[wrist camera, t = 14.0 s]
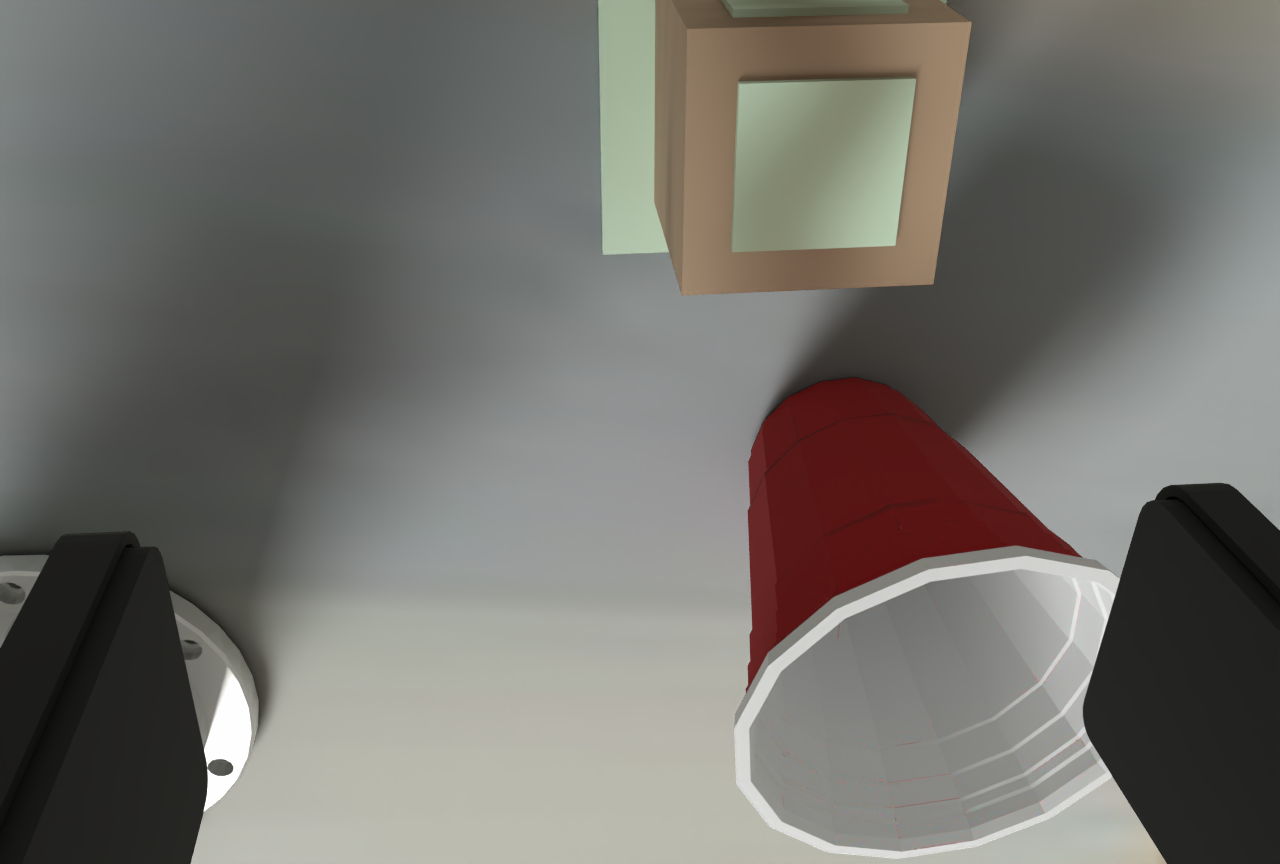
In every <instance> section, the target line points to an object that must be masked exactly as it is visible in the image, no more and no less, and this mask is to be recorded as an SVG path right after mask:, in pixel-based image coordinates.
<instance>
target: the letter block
mask: <svg viewBox="0 0 1280 864" xmlns="http://www.w3.org/2000/svg"><path fill="white" fill-rule="evenodd" d="M971 25H972V22H971V21H970V20H968V19H967V18H965V17H964V16H962V15H961V14H959V13H958V12H956V11H955V10H953V9H952V8H950V7H949V6H948V5H946V4H945V3H943V2H942V1H940V0H655V136H654V203H655V207H656V210H657V213H658V217H659V220H660V223H661V227H662V230H663V233H664V237H665V240H666V244H667V247H668V250H669V254H670V257H671V260H672V264H673V267H674V270H675V274H676V277H677V281H678V284H679V287H680V291H681V294H682V295H701V294H724V293H747V292H770V291H793V290H816V289H839V288H863V287H886V286H909V285H932V284H933V283H934V277H935V270H936V263H937V256H938V249H939V243H940V236H941V229H942V222H943V215H944V209H945V202H946V195H947V188H948V181H949V174H950V168H951V161H952V154H953V147H954V140H955V134H956V127H957V120H958V113H959V106H960V100H961V93H962V86H963V79H964V72H965V65H966V59H967V52H968V45H969V38H970V31H971Z"/></svg>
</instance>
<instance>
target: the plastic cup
mask: <svg viewBox="0 0 1280 864" xmlns="http://www.w3.org/2000/svg"><path fill="white" fill-rule="evenodd" d="M748 463H749V488H750V507H749V510H748V527H749V552H750V578H751V605H752V631H751V633H750V663H749V665H748V686H747V688H746V695H745V697H744V698H743V700H742V702H741V704H740V706H739V708H738V710H737V711H736V714H735V724H734V738H735V763H736V785H737V786H738V787H739V788H740V790H741V791H742V792H743V793H744V795H745V796H746V797H747V799H748V800H749V801H750V802H751V804H752V805H753V806H754V807H755V809H756V810H757V811H758V813H759V814H760V815H761V816H762V818H763V819H764V820H765V821H766V823H767V824H768V825H769V827H771V828H773V829H776V830H778V831H780V832H782V833H784V834H787V835H789V836H791V837H793V838H796V839H798V840H800V841H802V842H805V843H807V844H809V845H811V846H814V847H816V848H818V849H820V850H823V851H825V852H829V853H840V854H851V855H862V856H873V857H884V858H894V859H900V858H907V857H913V856H920V855H926V854H933V853H940V852H946V851H953V850H959V849H966V848H972V847H977V846H979V845H982V844H985V843H987V842H990V841H993V840H995V839H998V838H1000V837H1003V836H1006V835H1008V834H1011V833H1013V832H1016V831H1019V830H1021V829H1024V828H1027V827H1029V826H1032V825H1034V824H1037V823H1040V822H1042V821H1045V820H1047V819H1050V818H1052V817H1053V816H1055V815H1056V814H1058V813H1059V812H1061V811H1062V810H1064V809H1065V808H1067V807H1068V806H1070V805H1071V804H1073V803H1074V802H1076V801H1077V800H1079V799H1080V798H1082V797H1083V796H1085V795H1086V794H1088V793H1089V792H1091V791H1092V790H1094V789H1095V788H1097V787H1098V786H1100V785H1101V784H1103V783H1104V782H1106V781H1107V780H1109V779H1110V778H1112V777H1113V776H1112V775H1111V773H1110V772H1109V770H1108V768H1107V767H1106V765H1105V764H1104V762H1103V761H1102V759H1101V757H1100V756H1099V754H1098V753H1097V751H1096V749H1095V748H1094V746H1093V745H1092V743H1091V741H1090V739H1089V737H1088V735H1087V733H1086V730H1085V726H1084V721H1083V703H1084V698H1085V695H1086V692H1087V688H1088V685H1089V682H1090V678H1091V675H1092V672H1093V668H1094V665H1095V662H1096V658H1097V655H1098V651H1099V648H1100V645H1101V641H1102V638H1103V635H1104V631H1105V628H1106V625H1107V621H1108V618H1109V615H1110V611H1111V608H1112V604H1113V601H1114V598H1115V594H1116V591H1117V588H1118V584H1119V581H1120V577H1118V576H1117V575H1115V574H1114V573H1113V572H1111V571H1110V570H1109V569H1107V568H1106V567H1105V566H1103V565H1102V564H1101V563H1099V562H1098V561H1096V560H1092V559H1086V558H1083V557H1082V556H1080V555H1079V554H1078V553H1077V552H1076V551H1075V550H1074V549H1073V548H1072V547H1071V546H1070V545H1069V544H1068V543H1066V542H1065V541H1064V540H1062V539H1061V538H1060V537H1058V536H1057V535H1056V534H1054V533H1053V532H1052V531H1050V530H1049V529H1048V528H1047V527H1046V526H1045V525H1044V524H1043V523H1042V522H1041V521H1040V520H1039V519H1037V518H1036V517H1035V516H1034V515H1033V514H1032V513H1031V512H1030V511H1029V510H1028V509H1027V508H1026V507H1025V506H1024V505H1023V504H1022V503H1021V502H1020V501H1019V500H1018V499H1017V498H1016V497H1015V496H1014V495H1013V494H1012V493H1011V492H1010V491H1009V490H1008V489H1007V488H1006V487H1005V486H1004V485H1003V484H1002V483H1001V482H1000V481H999V480H998V479H997V478H996V477H994V476H993V475H992V474H991V473H990V472H989V471H988V470H987V469H986V468H985V467H984V466H983V465H982V464H981V463H980V462H979V461H978V460H977V459H976V458H975V457H974V456H973V455H972V454H971V453H970V452H969V451H968V450H967V449H966V448H965V447H963V446H962V445H961V444H960V443H958V442H957V441H956V440H954V439H953V438H952V437H950V436H949V435H948V434H947V433H945V432H944V431H943V430H942V429H941V428H940V427H939V426H938V425H937V424H936V423H935V422H934V421H933V420H932V419H931V418H930V417H929V416H928V415H927V414H926V413H925V412H924V411H923V410H921V409H920V408H919V407H918V406H916V405H915V404H914V403H912V402H911V401H910V400H909V399H907V398H906V397H905V396H903V395H902V394H901V393H900V392H898V391H897V390H893V389H891V388H890V387H889V386H888V385H884V384H880V383H876V382H872V381H868V380H864V379H860V378H847V379H839V380H830V381H822V382H819V383H816V384H814V385H812V386H810V387H808V388H806V389H804V390H802V391H800V392H798V393H796V394H794V395H792V396H790V397H788V398H787V399H786V400H785V401H784V402H783V403H782V404H781V405H780V406H779V407H778V408H777V409H776V410H775V411H774V412H773V413H772V414H771V415H770V416H769V417H768V418H767V419H766V420H765V421H764V422H763V424H762V426H761V429H760V431H759V433H758V436H757V438H756V440H755V443H754V445H753V447H752V450H751V457H750V459H749V462H748Z"/></svg>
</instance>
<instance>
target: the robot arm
mask: <svg viewBox="0 0 1280 864" xmlns="http://www.w3.org/2000/svg"><path fill="white" fill-rule="evenodd" d="M258 710H259V700H258V696H257V692H256V688H255V684H254V680H253V676H252V674H251V672H250V670H249V668H248V666H247V664H246V662H245V660H244V658H243V656H242V654H241V653H240V651H239V649H238V648H237V647H236V646H235V645H234V643H233V642H232V641H231V640H230V639H229V637H228V636H227V635H226V634H225V632H224V631H223V630H222V629H221V628H220V626H218V625H217V624H216V623H215V622H214V621H212V620H211V619H210V618H209V617H208V616H207V615H205V614H204V613H203V612H202V611H201V610H199V609H198V608H197V607H196V606H195V605H193V604H192V603H190V602H189V601H187V600H185V599H183V598H182V597H180V596H178V595H177V594H175V593H173V592H172V591H170V590H169V586H168V582H167V577H166V572H165V568H164V563H163V559H162V556H161V553H160V551H159V550H158V548H156V547H140V544H139V541H138V539H137V538H136V536H135V534H133V533H132V532H130V531H128V532H106V533H83V534H66V535H63V536H61V537H60V538H59V540H58V541H57V542H56V544H55V546H54V548H53V549H52V551H51V553H50V555H10V556H0V864H190V863H191V859H192V855H193V852H194V848H195V844H196V840H197V836H198V832H199V828H200V824H201V820H202V816H203V813H204V812H205V811H206V810H208V809H209V808H210V807H212V806H213V805H214V804H215V803H217V802H218V801H219V800H221V799H222V798H223V797H224V796H225V795H226V794H227V793H228V792H229V790H230V789H231V788H232V787H233V786H234V784H235V783H236V782H237V781H238V779H239V778H240V777H241V775H242V773H243V771H244V769H245V766H246V764H247V762H248V760H249V758H250V756H251V753H252V749H253V745H254V740H255V736H256V732H257V728H258ZM1083 721H1084V726H1085V730H1086V733H1087V735H1088V737H1089V739H1090V741H1091V743H1092V745H1093V746H1094V748H1095V749H1096V751H1097V753H1098V754H1099V756H1100V757H1101V759H1102V761H1103V762H1104V764H1105V765H1106V767H1107V768H1108V770H1109V772H1110V773H1111V775H1112V776H1113V778H1114V780H1115V781H1116V783H1117V784H1118V786H1119V788H1120V789H1121V791H1122V792H1123V794H1124V796H1125V797H1126V799H1127V800H1128V802H1129V804H1130V805H1131V807H1132V808H1133V810H1134V812H1135V813H1136V815H1137V816H1138V818H1139V820H1140V821H1141V823H1142V824H1143V826H1144V828H1145V829H1146V831H1147V832H1148V834H1149V835H1150V837H1151V839H1152V840H1153V842H1154V843H1155V845H1156V847H1157V848H1158V850H1159V851H1160V853H1161V855H1162V856H1163V858H1164V859H1165V861H1166V863H1167V864H1280V530H1279V529H1277V528H1276V527H1275V526H1274V525H1273V524H1272V523H1271V522H1270V521H1269V520H1268V519H1267V518H1266V517H1265V516H1264V515H1263V514H1262V513H1261V512H1260V511H1259V510H1258V509H1257V508H1256V507H1255V506H1254V505H1252V504H1251V503H1250V502H1249V501H1248V500H1247V499H1246V498H1245V497H1244V496H1243V495H1242V494H1241V493H1240V492H1239V491H1238V490H1237V489H1235V488H1234V487H1232V486H1231V485H1229V484H1224V483H1208V484H1186V485H1170V486H1167V487H1165V488H1163V489H1162V490H1161V491H1160V492H1159V493H1158V494H1157V497H1156V499H1155V500H1153V501H1150V502H1147V503H1146V504H1145V505H1144V506H1143V507H1142V510H1141V512H1140V514H1139V517H1138V521H1137V524H1136V527H1135V531H1134V534H1133V537H1132V541H1131V544H1130V547H1129V551H1128V554H1127V558H1126V561H1125V564H1124V568H1123V571H1122V574H1121V578H1120V581H1119V584H1118V588H1117V591H1116V594H1115V598H1114V601H1113V604H1112V608H1111V611H1110V615H1109V618H1108V621H1107V625H1106V628H1105V631H1104V635H1103V638H1102V641H1101V645H1100V648H1099V651H1098V655H1097V658H1096V662H1095V665H1094V668H1093V672H1092V675H1091V678H1090V682H1089V685H1088V688H1087V692H1086V695H1085V698H1084V703H1083Z"/></svg>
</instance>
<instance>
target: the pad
mask: <svg viewBox="0 0 1280 864" xmlns="http://www.w3.org/2000/svg"><path fill="white" fill-rule="evenodd" d="M940 1H942V2H943V3H945V4H947V0H940ZM598 31H599V87H600V142H601V197H602V252H603V255H609V254H635V253H661V252H669V250H668V247H667V244H666V240H665V237H664V233H663V230H662V227H661V223H660V220H659V217H658V213H657V210H656V207H655V203H654V136H655V0H598Z"/></svg>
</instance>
